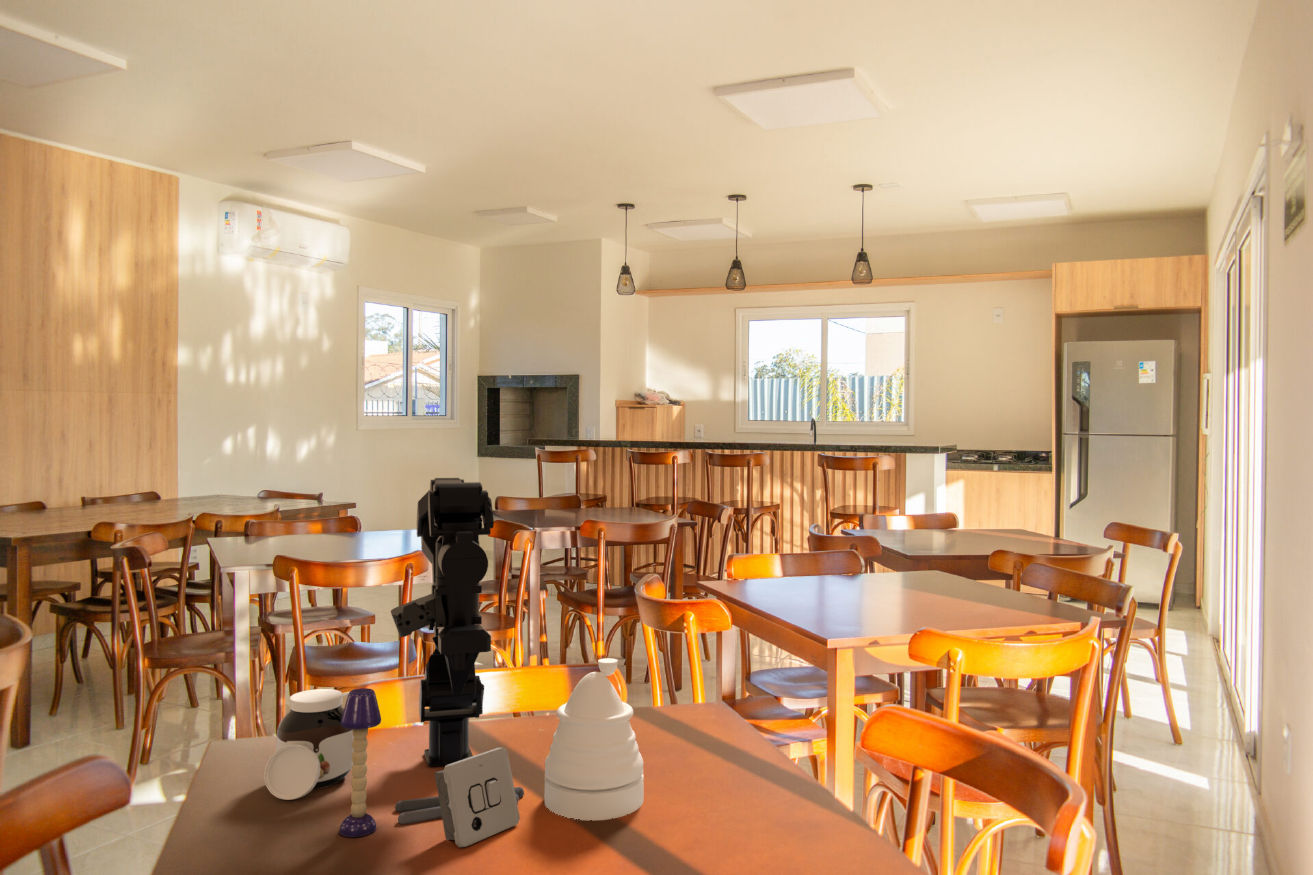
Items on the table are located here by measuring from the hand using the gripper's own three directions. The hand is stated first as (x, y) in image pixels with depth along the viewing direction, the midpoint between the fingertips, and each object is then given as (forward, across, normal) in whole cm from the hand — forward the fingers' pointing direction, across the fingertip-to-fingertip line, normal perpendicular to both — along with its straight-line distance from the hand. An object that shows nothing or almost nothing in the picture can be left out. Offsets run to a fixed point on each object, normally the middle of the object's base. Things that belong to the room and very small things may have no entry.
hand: (457, 693), depth 125 cm
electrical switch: (+13, +14, 0) cm, 19 cm away
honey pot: (+13, +9, +16) cm, 23 cm away
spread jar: (+13, -8, -18) cm, 24 cm away
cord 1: (+13, +4, 0) cm, 14 cm away
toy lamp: (+13, +9, -12) cm, 20 cm away
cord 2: (+13, +8, 0) cm, 15 cm away
